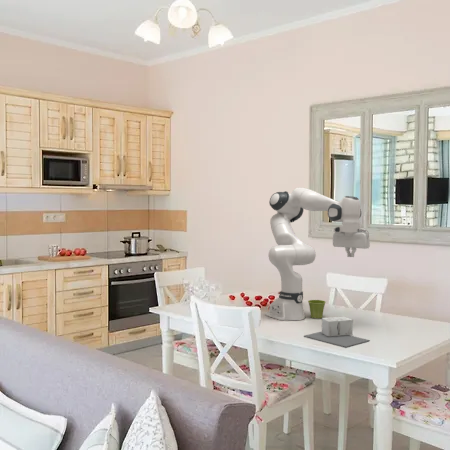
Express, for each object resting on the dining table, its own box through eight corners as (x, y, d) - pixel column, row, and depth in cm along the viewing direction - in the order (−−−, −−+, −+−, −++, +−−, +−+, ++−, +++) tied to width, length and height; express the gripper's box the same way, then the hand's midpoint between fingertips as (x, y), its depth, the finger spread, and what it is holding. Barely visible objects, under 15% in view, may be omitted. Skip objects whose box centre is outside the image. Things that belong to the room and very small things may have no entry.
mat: (303, 336, 253) (303, 335, 253) (327, 331, 264) (327, 330, 264) (345, 347, 235) (345, 346, 235) (369, 341, 246) (369, 340, 246)
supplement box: (353, 335, 254) (328, 337, 251) (345, 331, 262) (321, 333, 258) (353, 319, 254) (328, 321, 250) (345, 316, 261) (321, 317, 258)
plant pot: (328, 318, 292) (329, 302, 291) (313, 320, 288) (313, 303, 288) (319, 315, 300) (319, 299, 300) (304, 316, 297) (304, 300, 296)
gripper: (372, 229, 265) (372, 258, 266) (339, 228, 281) (338, 255, 282) (364, 229, 261) (364, 258, 262) (330, 228, 277) (330, 255, 278)
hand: (350, 256), depth 272 cm, fingers closed
